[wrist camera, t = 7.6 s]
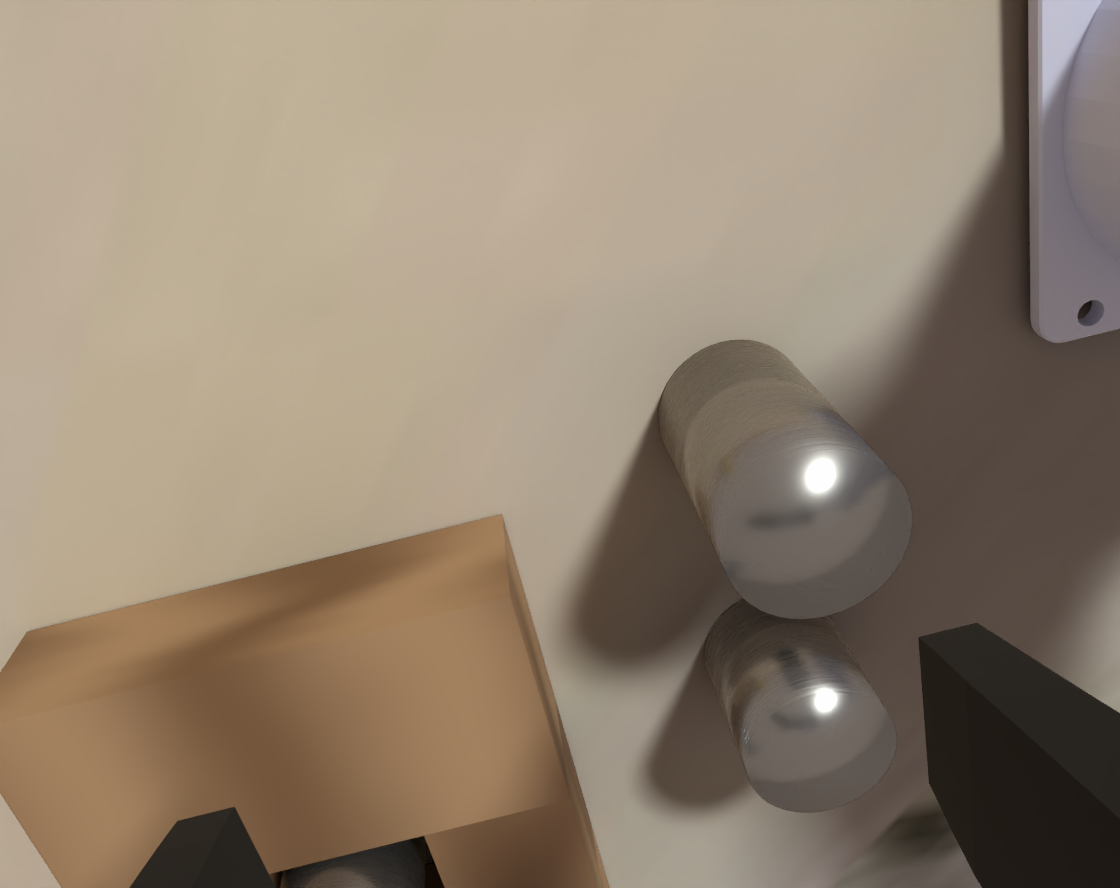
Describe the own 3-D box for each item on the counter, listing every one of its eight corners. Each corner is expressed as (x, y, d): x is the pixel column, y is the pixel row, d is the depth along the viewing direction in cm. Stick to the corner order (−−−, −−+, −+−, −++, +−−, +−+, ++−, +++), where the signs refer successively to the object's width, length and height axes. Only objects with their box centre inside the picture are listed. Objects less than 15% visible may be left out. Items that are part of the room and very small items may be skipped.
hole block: (501, 513, 20) (510, 596, 17) (629, 956, 26) (649, 1068, 23) (27, 631, 20) (-40, 732, 17) (265, 1046, 26) (244, 1169, 23)
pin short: (826, 576, 21) (891, 676, 18) (838, 680, 23) (901, 791, 20) (694, 608, 21) (737, 715, 18) (714, 711, 23) (757, 827, 20)
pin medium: (796, 323, 19) (906, 429, 14) (812, 458, 20) (917, 592, 16) (645, 361, 19) (707, 477, 14) (672, 492, 20) (736, 638, 16)
